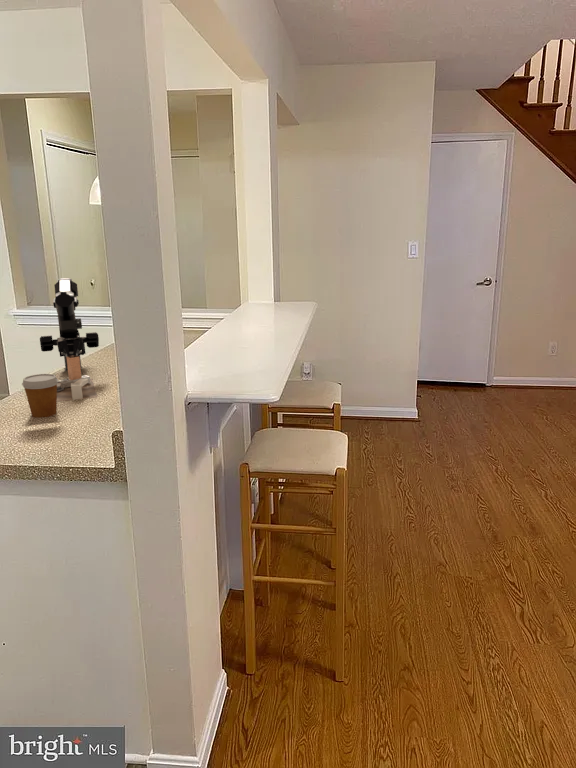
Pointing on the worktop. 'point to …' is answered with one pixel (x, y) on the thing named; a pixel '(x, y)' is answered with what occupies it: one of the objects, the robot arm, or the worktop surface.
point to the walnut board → (87, 392)
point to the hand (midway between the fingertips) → (72, 362)
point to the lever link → (72, 372)
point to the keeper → (78, 388)
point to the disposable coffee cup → (41, 394)
